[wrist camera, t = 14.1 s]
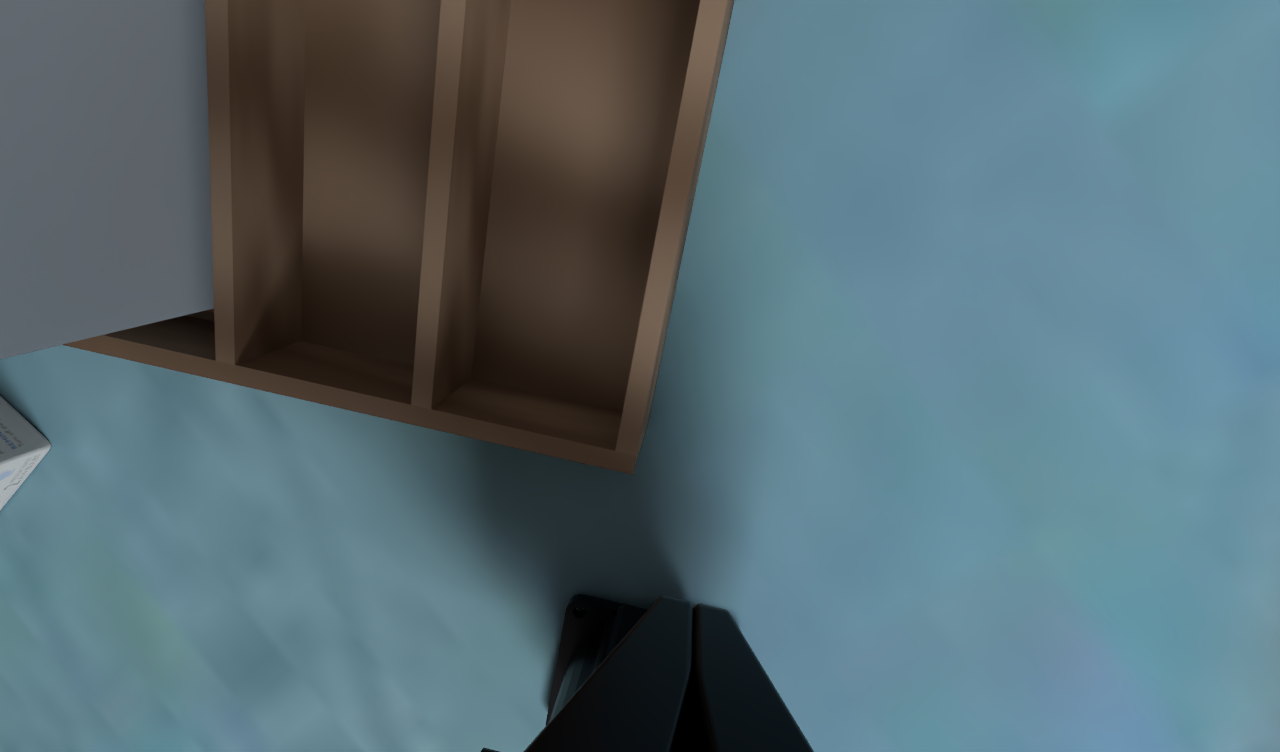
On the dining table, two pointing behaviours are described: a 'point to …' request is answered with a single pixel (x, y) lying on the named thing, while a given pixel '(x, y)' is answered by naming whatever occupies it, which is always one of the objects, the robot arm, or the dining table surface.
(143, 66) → the white rectangular box
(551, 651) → the dining table surface
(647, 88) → the rack
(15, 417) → the light bulb box
